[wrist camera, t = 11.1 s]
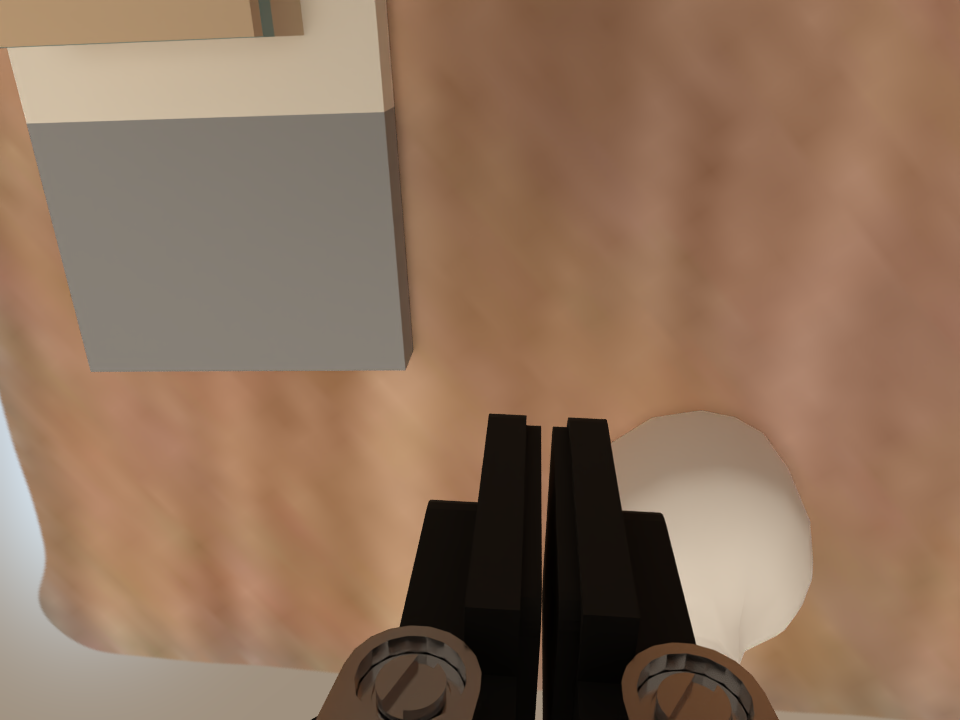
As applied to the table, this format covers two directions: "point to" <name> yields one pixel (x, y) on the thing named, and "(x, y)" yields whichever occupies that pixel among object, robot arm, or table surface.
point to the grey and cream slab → (228, 196)
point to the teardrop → (722, 523)
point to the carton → (143, 21)
